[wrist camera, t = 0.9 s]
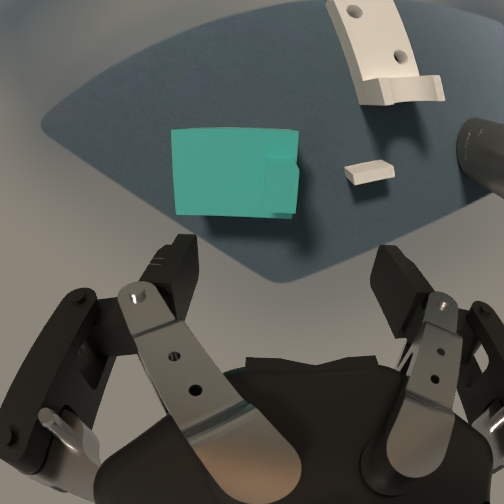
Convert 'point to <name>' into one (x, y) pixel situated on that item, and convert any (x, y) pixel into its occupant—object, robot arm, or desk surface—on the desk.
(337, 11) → the bracket
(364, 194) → the desk surface
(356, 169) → the eraser
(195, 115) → the desk surface
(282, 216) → the lid
